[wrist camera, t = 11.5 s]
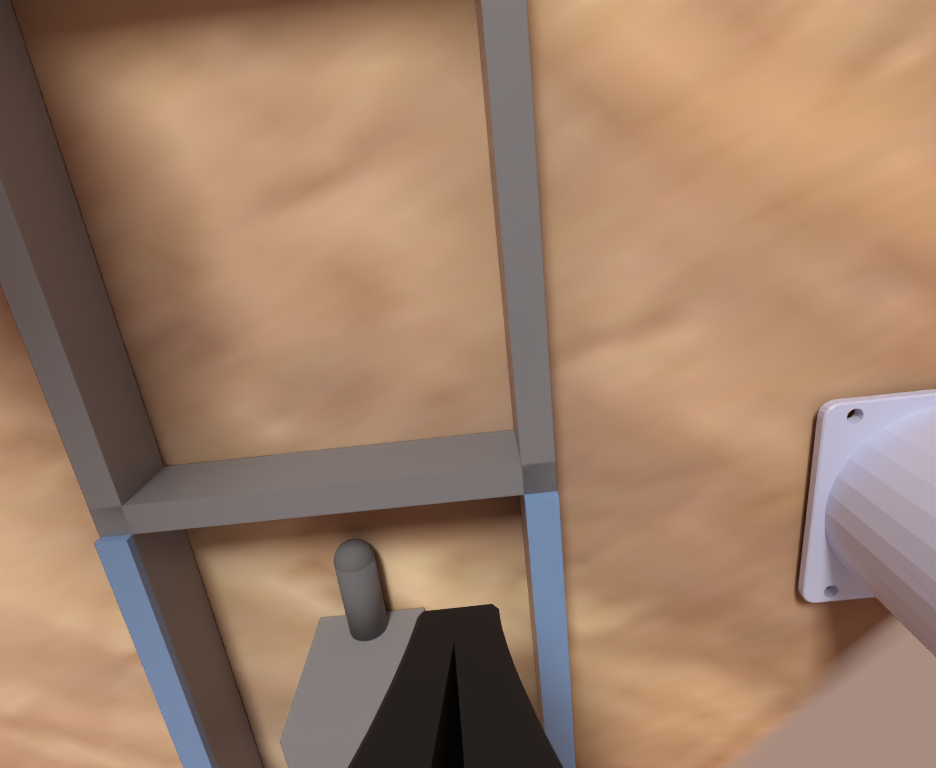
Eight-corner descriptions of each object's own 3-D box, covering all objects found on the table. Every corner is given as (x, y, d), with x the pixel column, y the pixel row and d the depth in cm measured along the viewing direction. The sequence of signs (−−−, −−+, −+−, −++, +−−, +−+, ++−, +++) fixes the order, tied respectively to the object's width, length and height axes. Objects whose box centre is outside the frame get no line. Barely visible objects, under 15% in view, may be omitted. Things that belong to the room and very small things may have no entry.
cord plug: (410, 524, 20) (394, 636, 15) (448, 739, 23) (444, 886, 18) (298, 536, 20) (244, 651, 15) (352, 748, 23) (323, 896, 19)
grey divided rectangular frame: (501, -184, 13) (523, -390, 8) (568, 795, 25) (594, 939, 20) (-67, -108, 14) (-348, -264, 9) (259, 822, 25) (212, 970, 20)
